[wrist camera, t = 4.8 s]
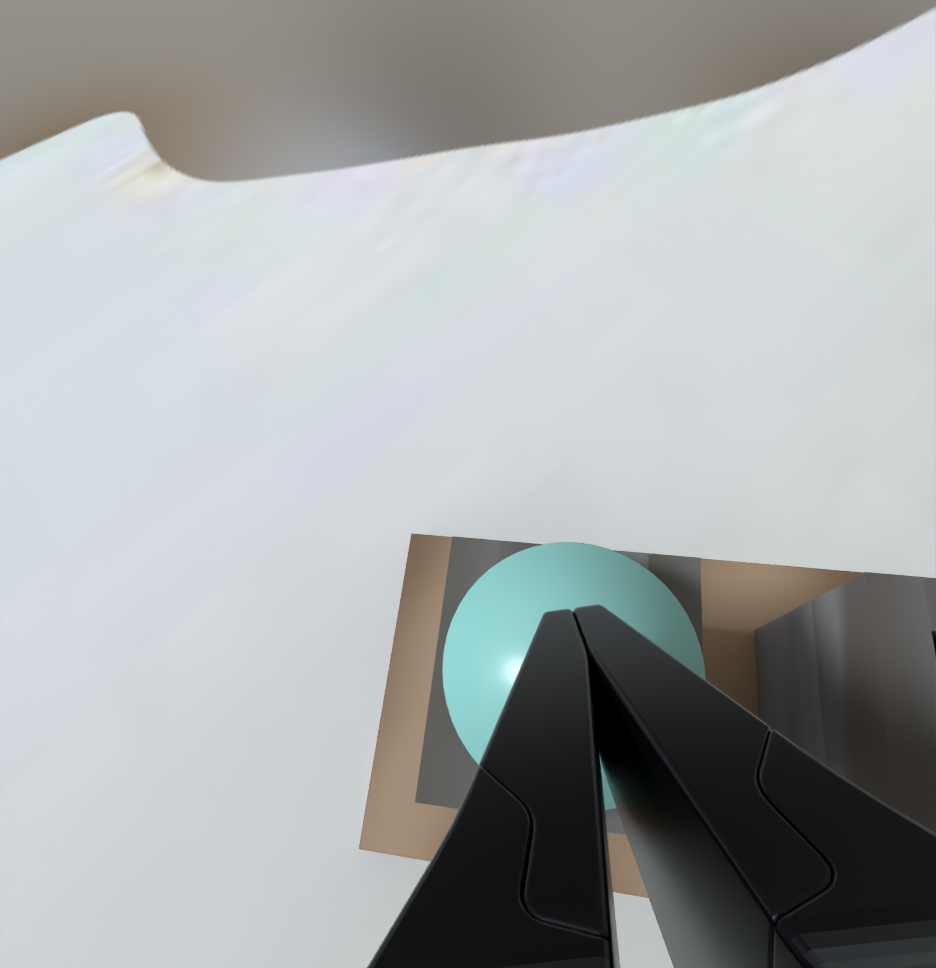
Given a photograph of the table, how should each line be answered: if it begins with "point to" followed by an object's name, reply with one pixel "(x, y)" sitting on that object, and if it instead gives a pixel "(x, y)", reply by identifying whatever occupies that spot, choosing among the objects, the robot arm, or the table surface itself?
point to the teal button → (517, 613)
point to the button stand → (728, 666)
